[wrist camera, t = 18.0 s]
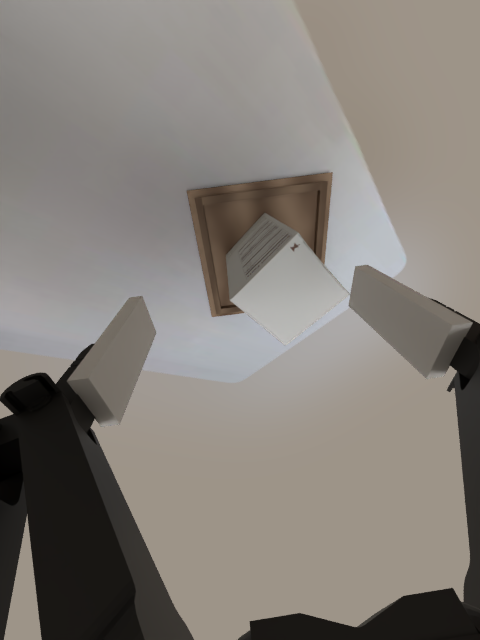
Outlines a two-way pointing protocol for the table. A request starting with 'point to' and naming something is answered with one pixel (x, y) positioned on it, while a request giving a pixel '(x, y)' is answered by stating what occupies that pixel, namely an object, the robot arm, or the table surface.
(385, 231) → the table surface
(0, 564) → the robot arm
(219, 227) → the walnut tray
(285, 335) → the supplement box
